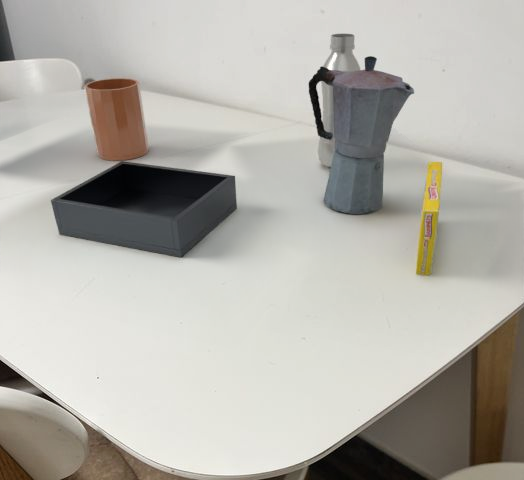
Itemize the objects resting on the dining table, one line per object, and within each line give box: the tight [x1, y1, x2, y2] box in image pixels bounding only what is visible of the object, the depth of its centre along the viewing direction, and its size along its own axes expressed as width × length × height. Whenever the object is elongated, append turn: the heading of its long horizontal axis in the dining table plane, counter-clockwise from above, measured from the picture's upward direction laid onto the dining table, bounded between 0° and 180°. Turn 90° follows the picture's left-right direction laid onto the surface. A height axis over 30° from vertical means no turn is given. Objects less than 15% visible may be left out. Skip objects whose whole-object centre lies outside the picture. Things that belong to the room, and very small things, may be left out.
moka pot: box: [308, 55, 415, 215], centre depth 79 cm, size 10×15×20 cm, turn 60°
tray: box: [50, 160, 238, 258], centre depth 81 cm, size 20×17×5 cm
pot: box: [83, 77, 149, 162], centre depth 104 cm, size 9×9×12 cm
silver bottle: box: [317, 33, 361, 168], centre depth 93 cm, size 6×7×20 cm
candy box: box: [415, 161, 443, 276], centre depth 71 cm, size 16×2×8 cm, turn 165°
